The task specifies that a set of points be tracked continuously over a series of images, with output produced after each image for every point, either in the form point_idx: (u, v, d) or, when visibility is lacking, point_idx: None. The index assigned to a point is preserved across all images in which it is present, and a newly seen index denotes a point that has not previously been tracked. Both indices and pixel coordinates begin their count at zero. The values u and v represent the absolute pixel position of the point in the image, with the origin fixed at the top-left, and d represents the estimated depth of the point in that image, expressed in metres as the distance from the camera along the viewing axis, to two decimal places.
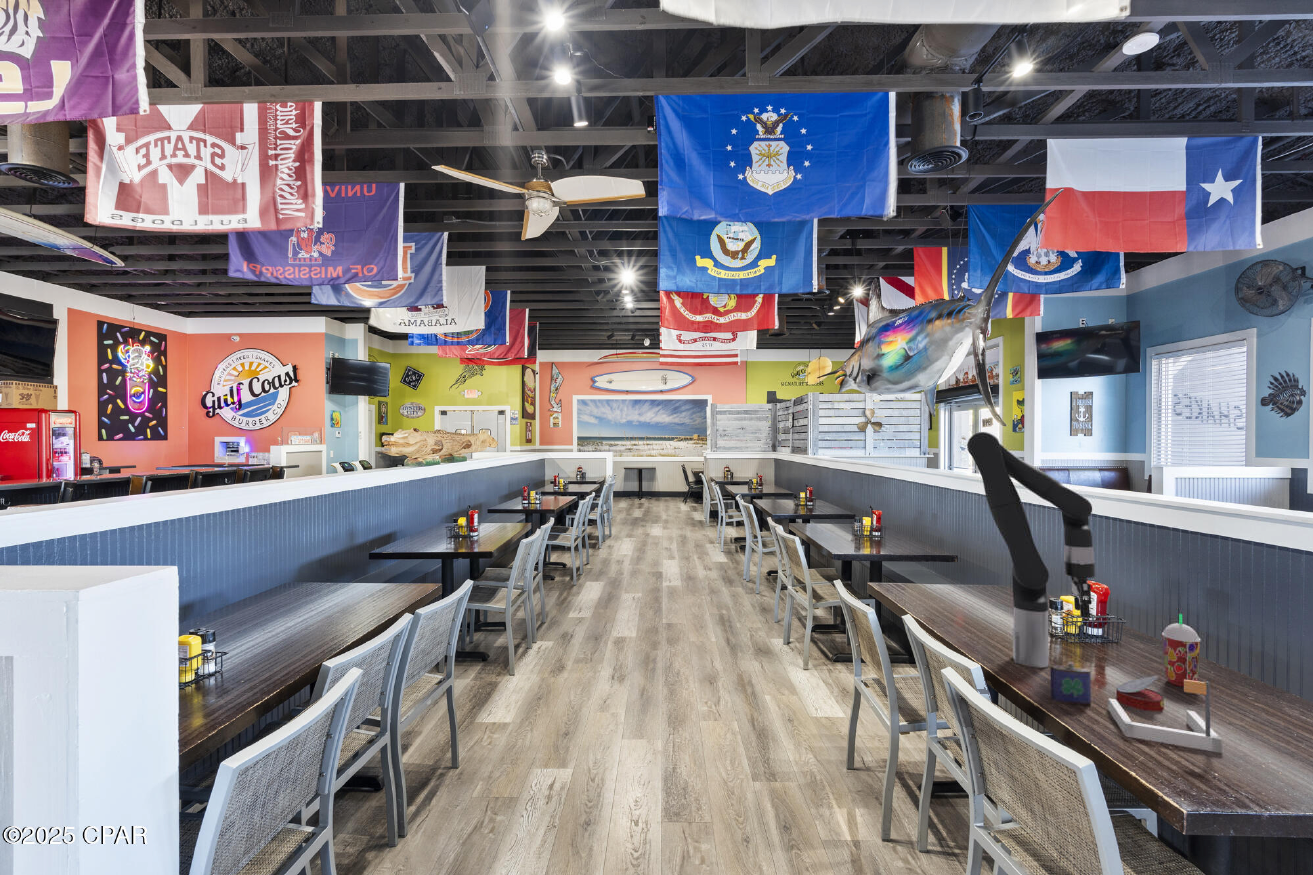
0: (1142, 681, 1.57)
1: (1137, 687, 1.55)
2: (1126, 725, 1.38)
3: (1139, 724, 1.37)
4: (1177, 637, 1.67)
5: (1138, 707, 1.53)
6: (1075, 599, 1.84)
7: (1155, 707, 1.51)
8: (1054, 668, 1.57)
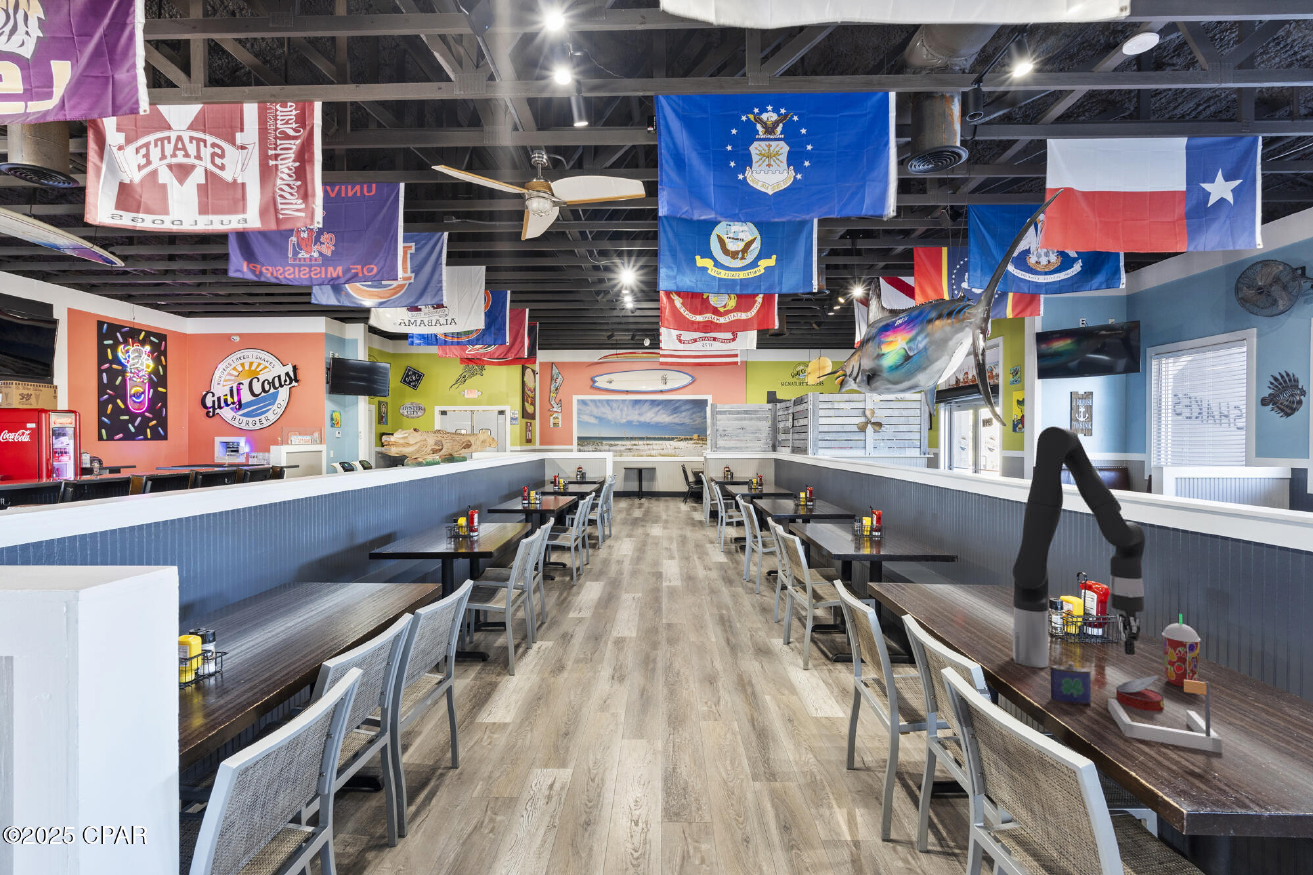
0: (1142, 681, 1.57)
1: (1137, 687, 1.55)
2: (1126, 725, 1.38)
3: (1139, 724, 1.37)
4: (1177, 637, 1.67)
5: (1138, 707, 1.53)
6: None
7: (1155, 707, 1.51)
8: (1054, 668, 1.57)
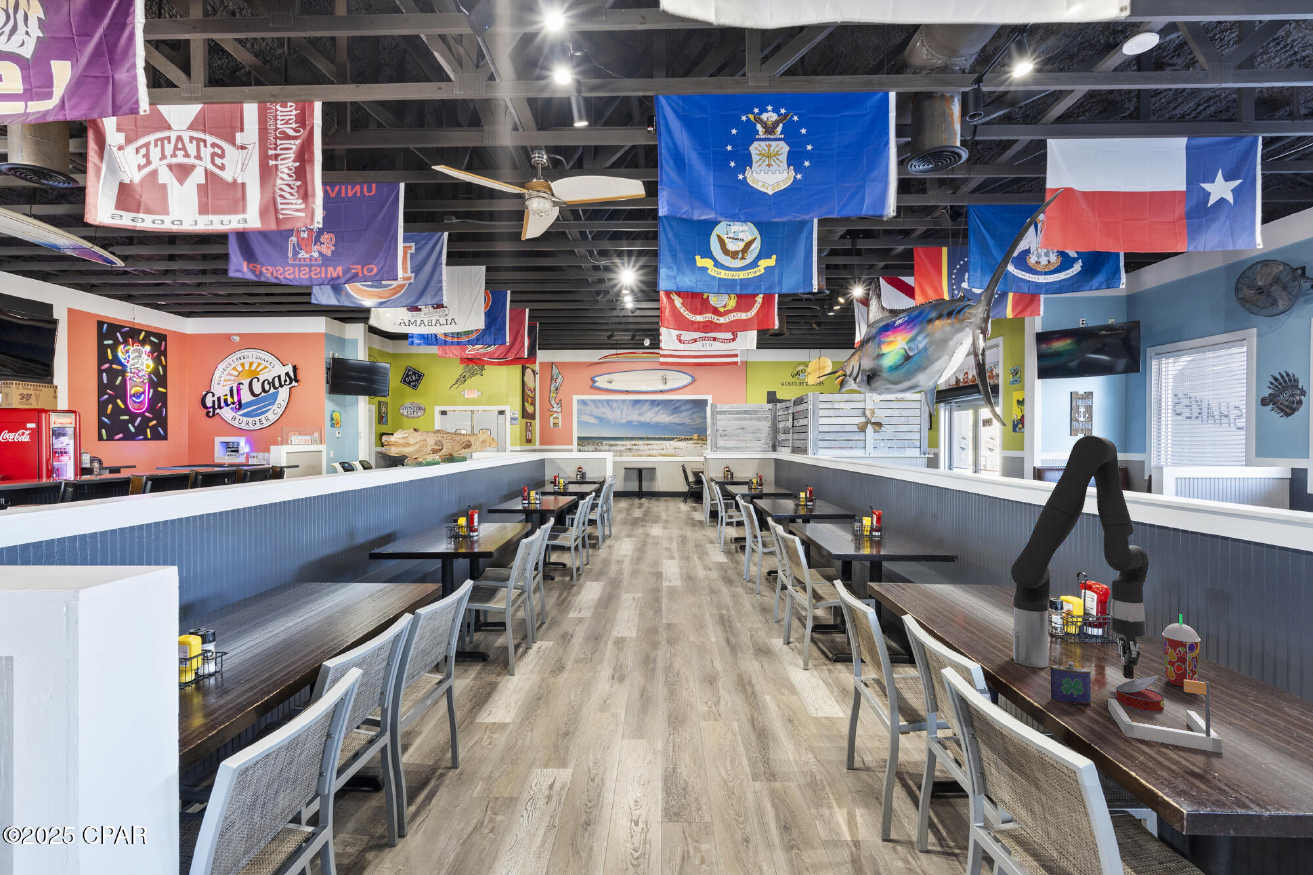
0: (1142, 681, 1.57)
1: (1137, 687, 1.55)
2: (1126, 725, 1.38)
3: (1139, 724, 1.37)
4: (1177, 637, 1.67)
5: (1138, 707, 1.53)
6: None
7: (1155, 707, 1.51)
8: (1054, 668, 1.57)
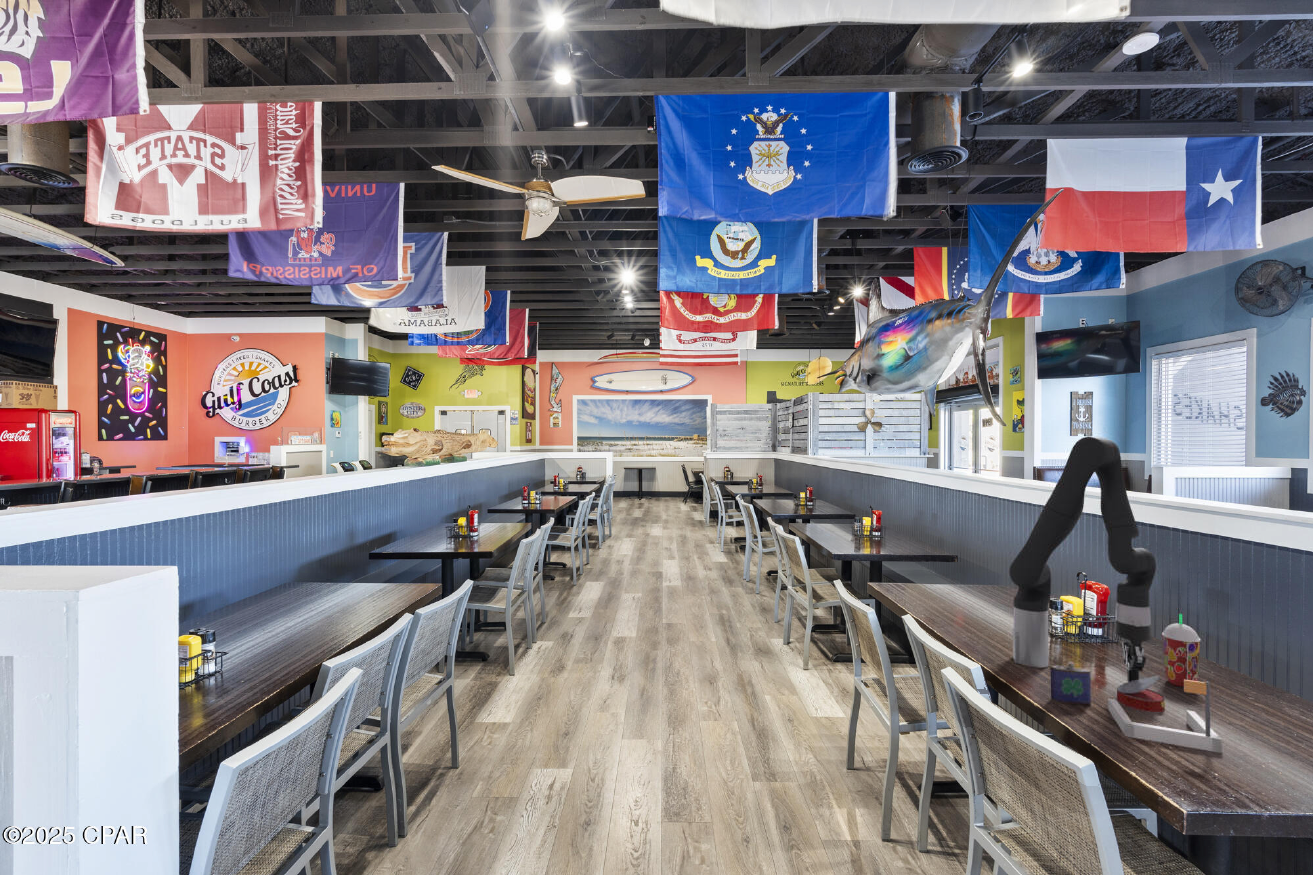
0: (1143, 681, 1.56)
1: (1138, 688, 1.54)
2: (1126, 725, 1.38)
3: (1139, 724, 1.37)
4: (1177, 637, 1.67)
5: (1139, 708, 1.52)
6: None
7: (1156, 708, 1.51)
8: (1054, 668, 1.57)
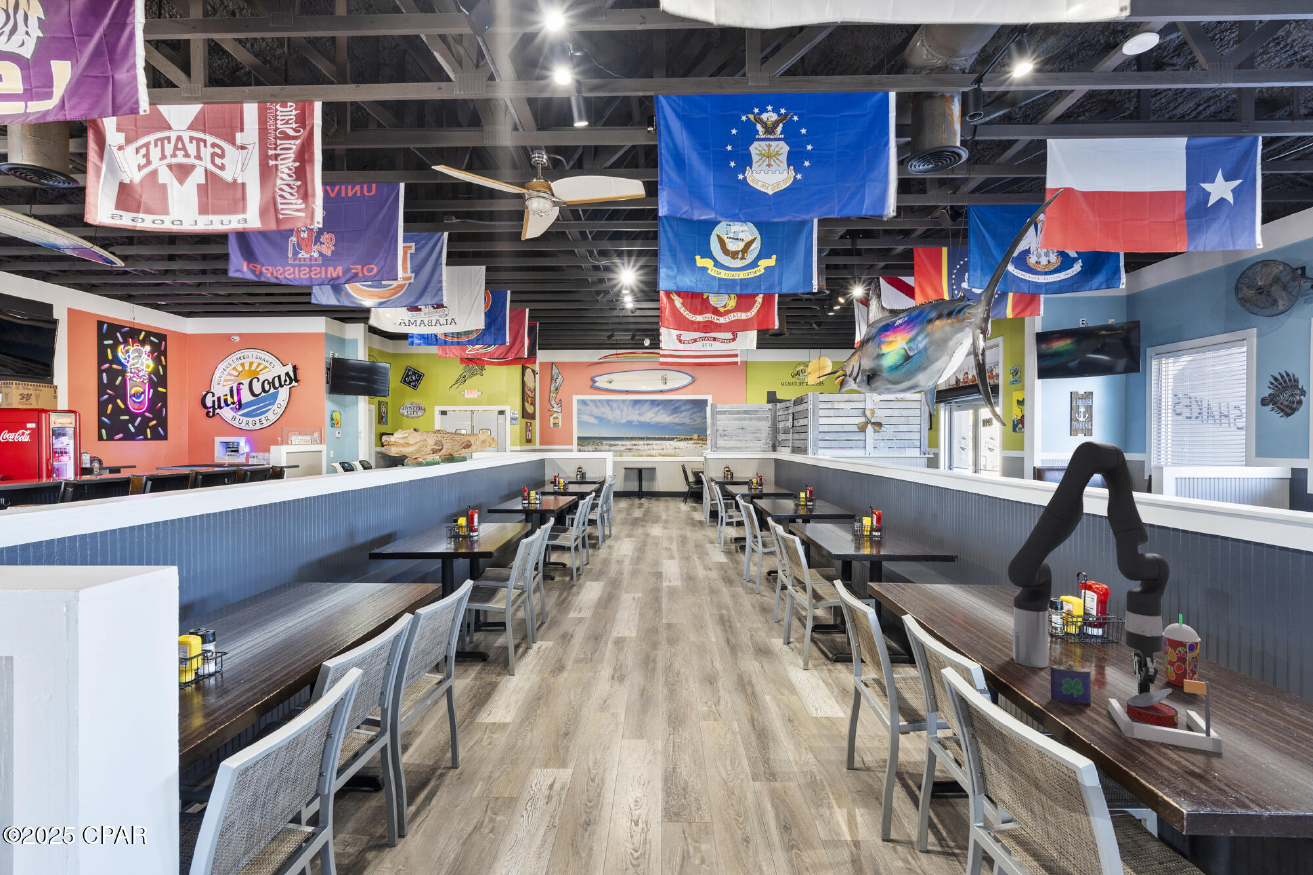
0: (1154, 694, 1.48)
1: (1150, 701, 1.46)
2: (1126, 725, 1.38)
3: (1139, 724, 1.37)
4: (1177, 637, 1.67)
5: (1151, 722, 1.44)
6: None
7: (1169, 723, 1.42)
8: (1054, 668, 1.57)
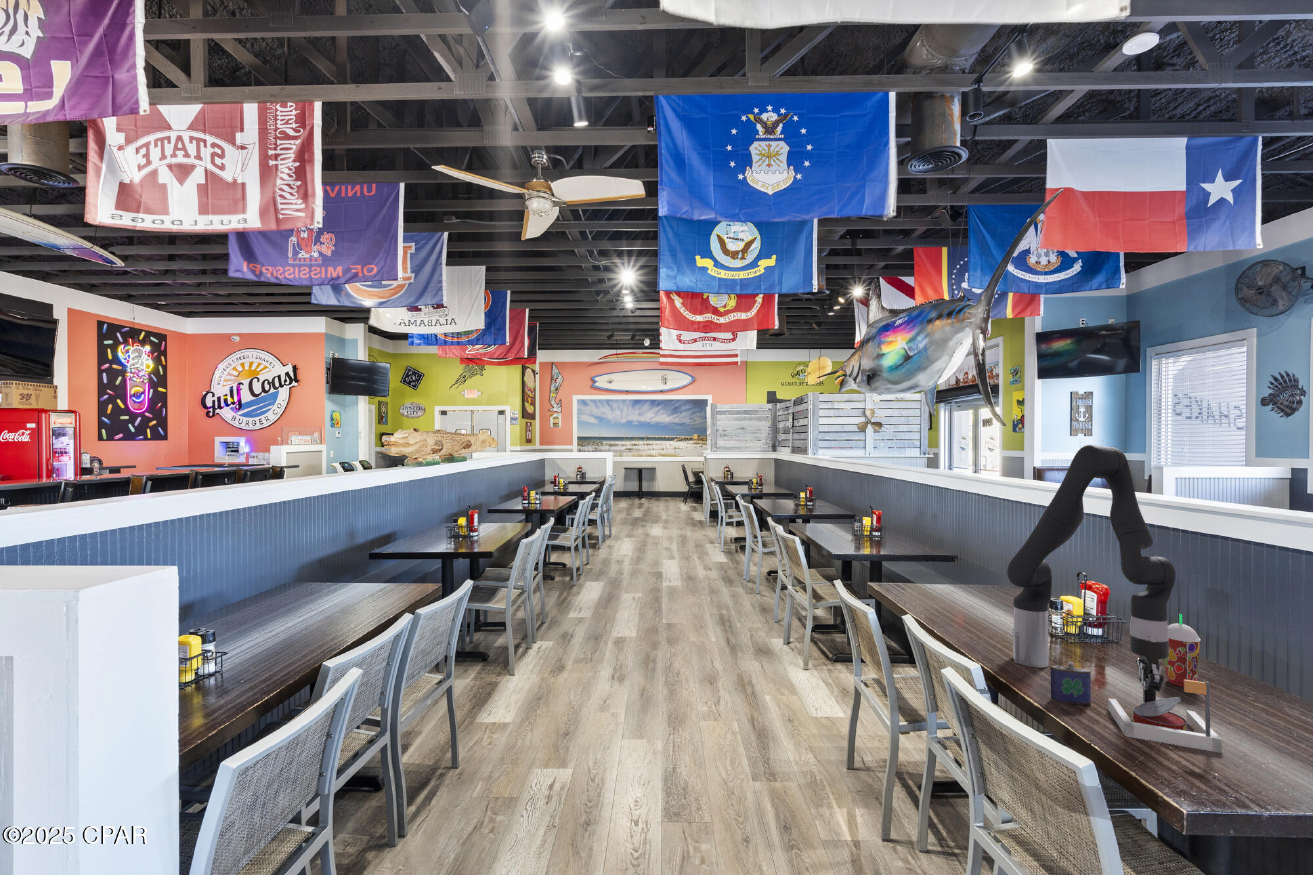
0: (1162, 703, 1.43)
1: (1158, 710, 1.41)
2: (1126, 725, 1.38)
3: (1139, 724, 1.37)
4: (1177, 637, 1.67)
5: None
6: None
7: None
8: (1054, 668, 1.57)
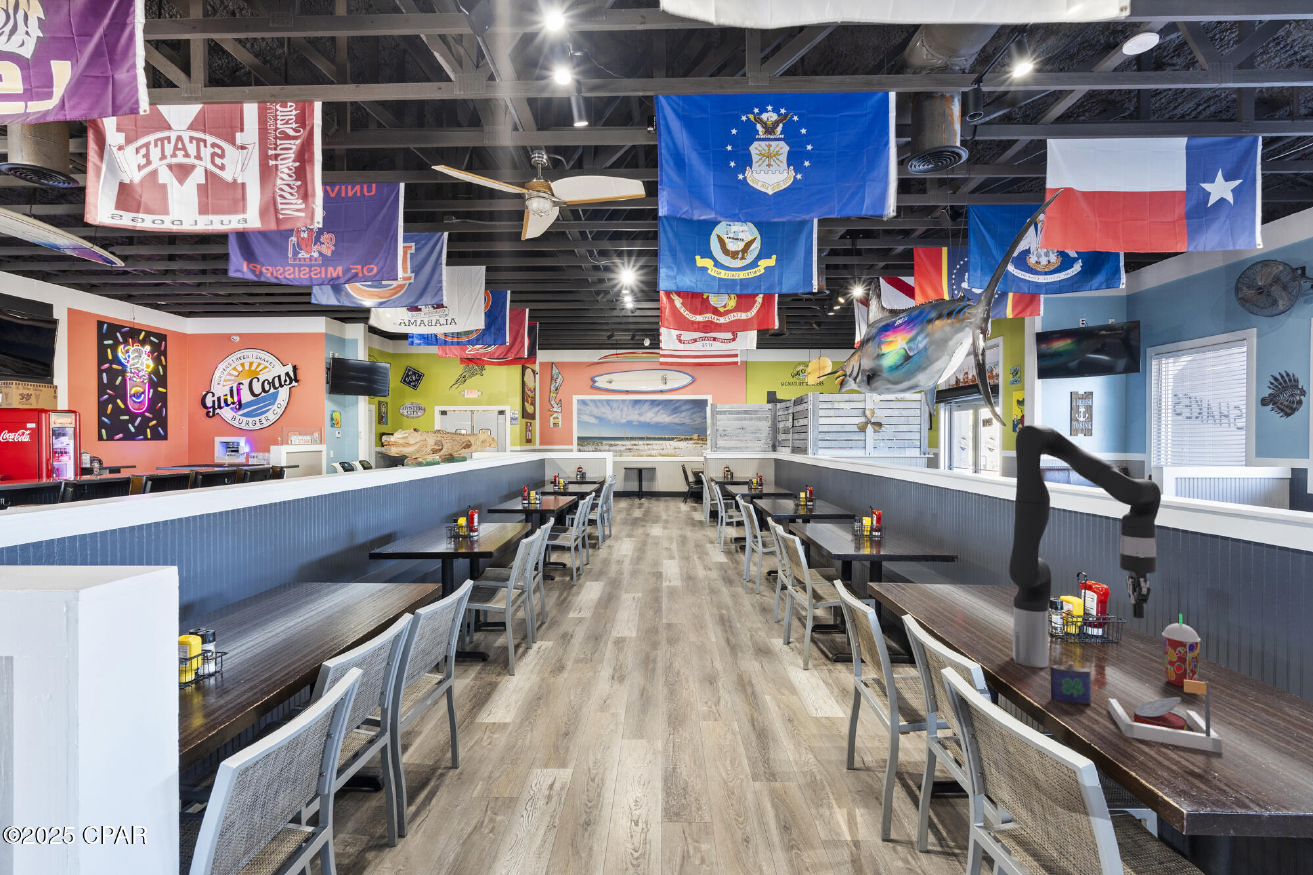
0: (1162, 703, 1.43)
1: (1158, 711, 1.41)
2: (1126, 725, 1.38)
3: (1139, 724, 1.37)
4: (1177, 637, 1.67)
5: None
6: None
7: None
8: (1054, 668, 1.57)
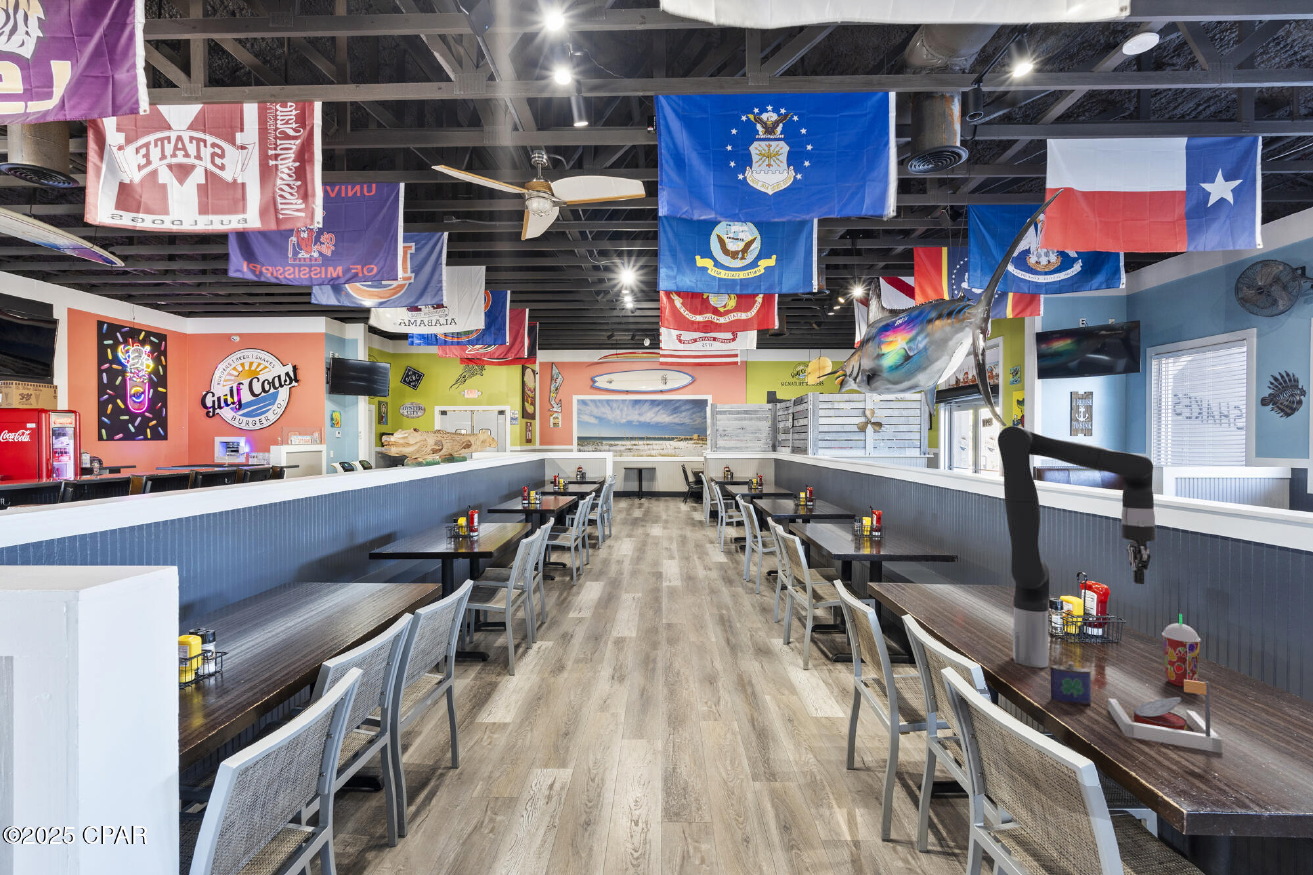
0: (1162, 703, 1.43)
1: (1158, 710, 1.41)
2: (1126, 725, 1.38)
3: (1139, 724, 1.37)
4: (1177, 637, 1.67)
5: None
6: None
7: None
8: (1054, 668, 1.57)
